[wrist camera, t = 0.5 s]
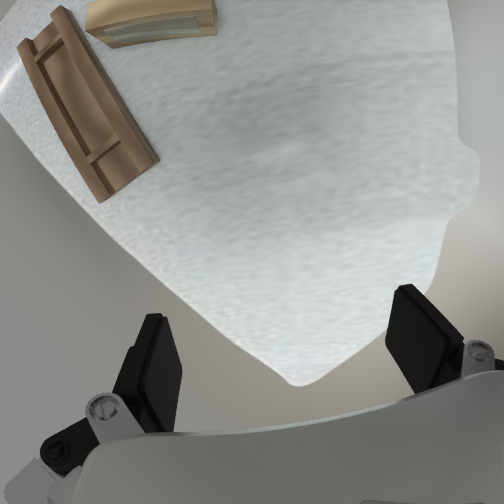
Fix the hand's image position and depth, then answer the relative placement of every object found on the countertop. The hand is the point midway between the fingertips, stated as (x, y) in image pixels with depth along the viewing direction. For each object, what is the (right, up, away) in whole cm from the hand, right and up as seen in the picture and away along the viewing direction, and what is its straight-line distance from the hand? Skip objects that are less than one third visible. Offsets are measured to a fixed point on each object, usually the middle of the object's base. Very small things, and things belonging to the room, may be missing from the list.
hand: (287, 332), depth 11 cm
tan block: (-13, +32, +17) cm, 39 cm away
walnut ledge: (-24, +25, +19) cm, 40 cm away
